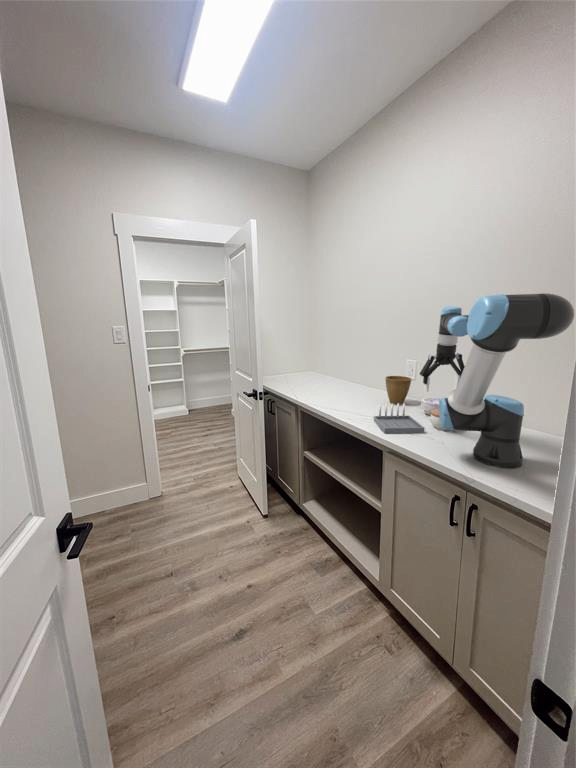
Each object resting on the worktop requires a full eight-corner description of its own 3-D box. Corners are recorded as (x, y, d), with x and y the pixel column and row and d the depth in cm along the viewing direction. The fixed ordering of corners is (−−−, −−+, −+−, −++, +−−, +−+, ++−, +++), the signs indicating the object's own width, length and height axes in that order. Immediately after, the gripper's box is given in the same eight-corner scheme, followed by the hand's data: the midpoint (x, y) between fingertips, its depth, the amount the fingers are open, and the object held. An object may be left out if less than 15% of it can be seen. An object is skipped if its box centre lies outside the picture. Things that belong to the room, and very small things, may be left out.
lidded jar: (457, 432, 140) (459, 412, 138) (432, 431, 142) (434, 411, 140) (450, 424, 150) (452, 406, 148) (427, 423, 152) (428, 405, 150)
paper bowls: (440, 409, 175) (441, 396, 173) (458, 418, 160) (459, 403, 158) (415, 411, 173) (416, 397, 171) (430, 419, 158) (431, 404, 156)
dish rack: (424, 432, 140) (425, 414, 138) (384, 433, 140) (385, 414, 138) (408, 420, 158) (409, 403, 156) (373, 420, 158) (374, 403, 156)
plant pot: (403, 408, 179) (405, 381, 175) (379, 403, 189) (381, 378, 185) (413, 402, 189) (415, 377, 186) (390, 399, 199) (392, 374, 196)
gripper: (470, 340, 137) (462, 385, 144) (414, 343, 136) (410, 388, 143) (480, 344, 130) (472, 390, 137) (422, 347, 129) (417, 394, 136)
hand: (440, 389), depth 140 cm, fingers open, 13 cm apart
